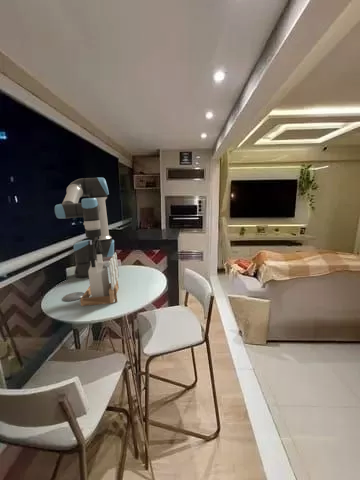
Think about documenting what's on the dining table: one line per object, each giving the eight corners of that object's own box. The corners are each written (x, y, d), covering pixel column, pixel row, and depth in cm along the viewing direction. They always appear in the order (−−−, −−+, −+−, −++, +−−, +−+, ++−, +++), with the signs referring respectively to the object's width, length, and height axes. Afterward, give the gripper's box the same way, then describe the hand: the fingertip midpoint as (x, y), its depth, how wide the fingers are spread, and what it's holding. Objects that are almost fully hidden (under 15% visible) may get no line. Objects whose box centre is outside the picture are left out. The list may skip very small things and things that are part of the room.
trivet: (67, 294, 143) (66, 293, 143) (87, 292, 144) (87, 291, 144) (59, 302, 133) (59, 301, 132) (81, 300, 133) (81, 299, 133)
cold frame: (91, 290, 146) (86, 254, 142) (122, 287, 147) (118, 252, 144) (81, 306, 126) (75, 264, 122) (116, 302, 127) (112, 261, 124)
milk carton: (104, 299, 133) (99, 263, 129) (91, 299, 134) (87, 264, 131) (110, 294, 139) (106, 260, 136) (98, 293, 141) (94, 260, 137)
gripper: (91, 226, 142) (95, 264, 146) (77, 232, 118) (83, 277, 121) (105, 225, 143) (109, 262, 146) (94, 231, 118) (100, 276, 122)
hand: (97, 269), depth 134 cm, fingers open, 13 cm apart
